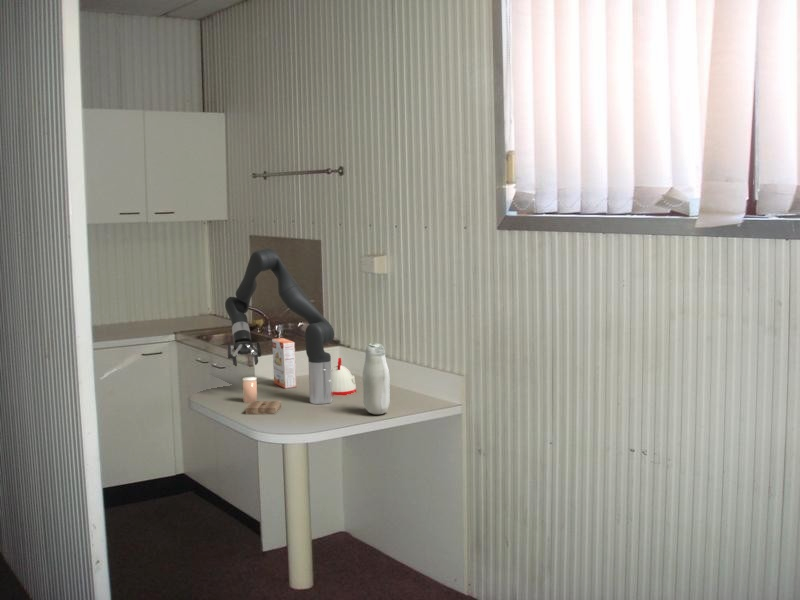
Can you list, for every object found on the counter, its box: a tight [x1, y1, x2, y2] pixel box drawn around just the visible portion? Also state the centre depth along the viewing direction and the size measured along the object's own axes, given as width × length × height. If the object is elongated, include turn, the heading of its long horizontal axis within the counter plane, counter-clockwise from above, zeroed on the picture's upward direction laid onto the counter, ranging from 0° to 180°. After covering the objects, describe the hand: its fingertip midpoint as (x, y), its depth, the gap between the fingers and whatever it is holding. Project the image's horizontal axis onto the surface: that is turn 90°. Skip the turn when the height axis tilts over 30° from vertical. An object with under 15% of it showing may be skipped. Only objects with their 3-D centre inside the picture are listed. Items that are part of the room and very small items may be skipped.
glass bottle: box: [362, 342, 391, 416], centre depth 360 cm, size 10×10×28 cm
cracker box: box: [271, 337, 297, 390], centre depth 418 cm, size 14×6×21 cm, turn 28°
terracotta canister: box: [242, 376, 258, 404], centre depth 387 cm, size 6×6×10 cm
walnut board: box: [245, 400, 282, 415], centre depth 370 cm, size 12×12×2 cm
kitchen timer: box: [331, 357, 357, 396], centre depth 402 cm, size 14×14×15 cm
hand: (246, 364), depth 395 cm, fingers open, 8 cm apart
